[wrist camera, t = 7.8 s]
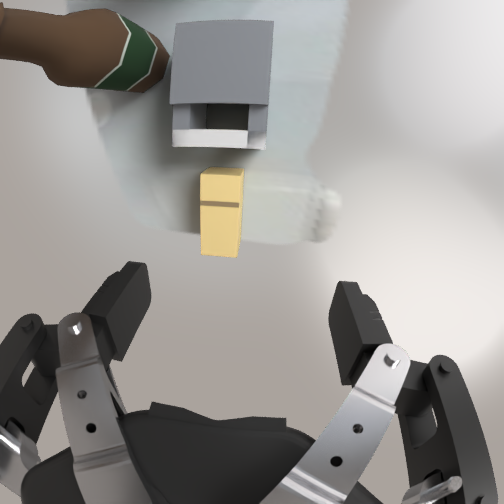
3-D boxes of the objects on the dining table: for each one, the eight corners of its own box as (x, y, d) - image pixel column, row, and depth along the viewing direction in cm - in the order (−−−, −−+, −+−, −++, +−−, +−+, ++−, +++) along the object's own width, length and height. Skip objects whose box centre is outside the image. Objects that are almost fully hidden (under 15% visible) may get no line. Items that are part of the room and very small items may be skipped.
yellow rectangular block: (209, 167, 30) (200, 174, 26) (244, 168, 30) (240, 176, 26) (208, 238, 34) (200, 255, 30) (240, 241, 34) (236, 257, 30)
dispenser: (197, 44, 24) (176, 23, 17) (272, 44, 24) (273, 21, 17) (191, 141, 29) (168, 148, 22) (265, 143, 29) (265, 150, 22)
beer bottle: (117, 102, 27) (-56, 121, 6) (112, 49, 24) (-45, 21, 2) (175, 85, 26) (5, 51, 5) (169, 29, 23) (29, -55, 1)
